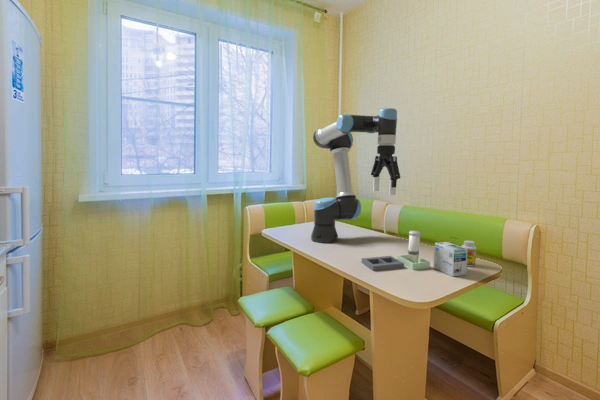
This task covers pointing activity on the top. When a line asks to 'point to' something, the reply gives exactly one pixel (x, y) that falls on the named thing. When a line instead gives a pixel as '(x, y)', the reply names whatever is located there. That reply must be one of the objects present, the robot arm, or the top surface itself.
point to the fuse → (413, 246)
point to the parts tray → (420, 265)
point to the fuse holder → (382, 263)
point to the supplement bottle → (470, 252)
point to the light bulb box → (450, 258)
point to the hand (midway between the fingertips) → (383, 192)
